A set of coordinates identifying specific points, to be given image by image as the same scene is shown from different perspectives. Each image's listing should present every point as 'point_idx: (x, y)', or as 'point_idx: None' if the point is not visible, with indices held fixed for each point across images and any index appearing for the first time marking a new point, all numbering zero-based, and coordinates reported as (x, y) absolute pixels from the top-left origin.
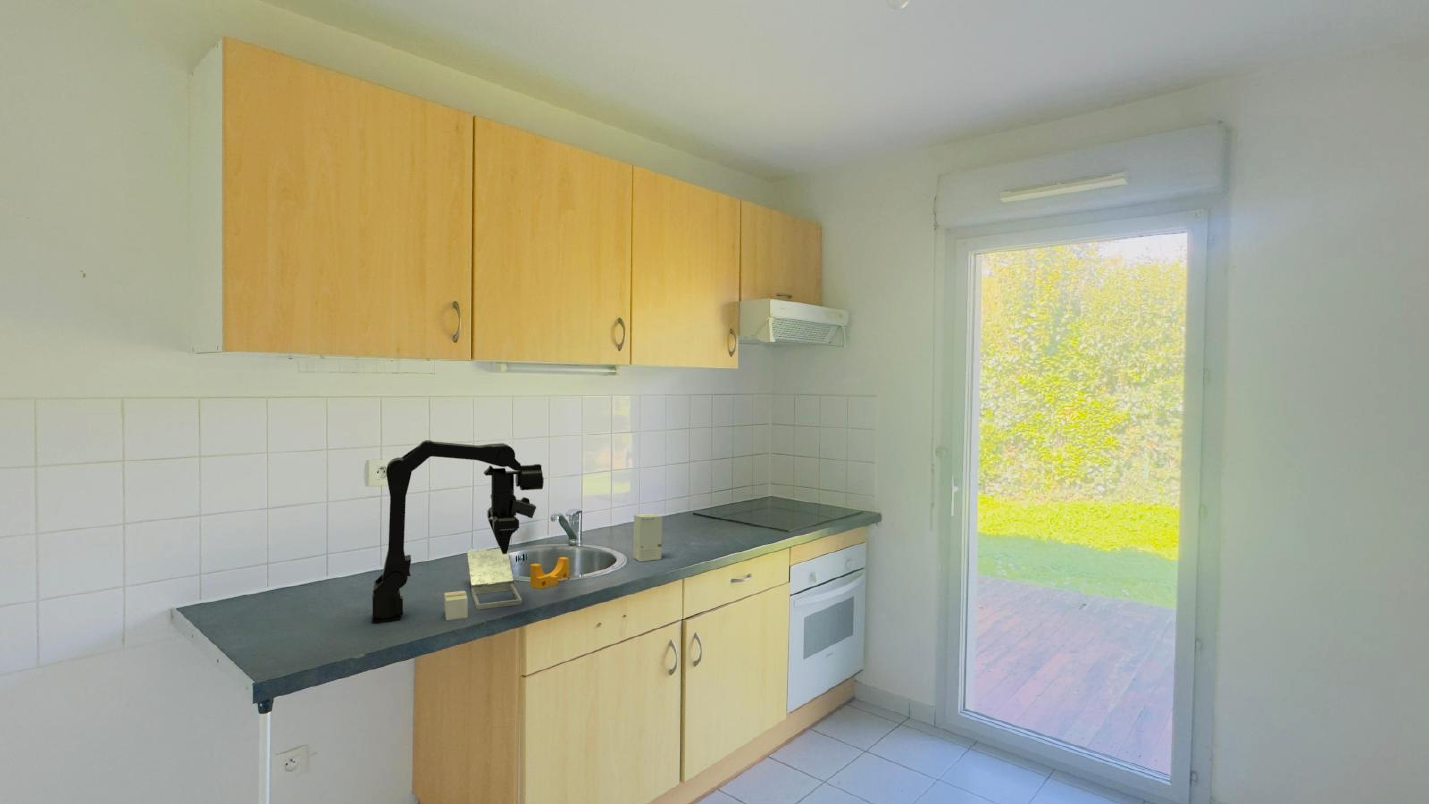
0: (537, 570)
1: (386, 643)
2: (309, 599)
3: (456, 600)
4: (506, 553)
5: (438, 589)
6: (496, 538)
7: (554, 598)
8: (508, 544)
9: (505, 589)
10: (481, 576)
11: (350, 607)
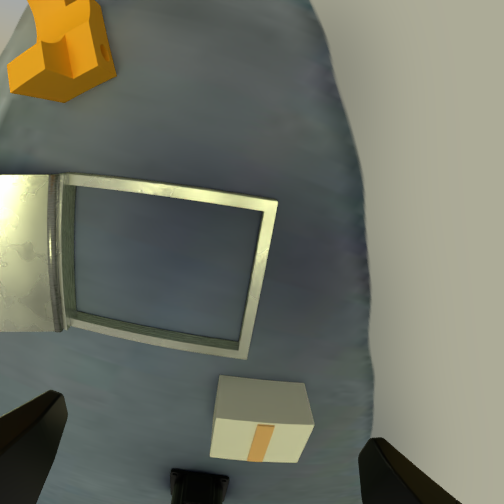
0: (56, 65)
1: (346, 486)
2: (55, 496)
3: (304, 444)
4: (382, 439)
5: (14, 365)
6: (44, 477)
7: (273, 59)
8: (437, 489)
9: (72, 206)
10: (13, 296)
11: (107, 492)
